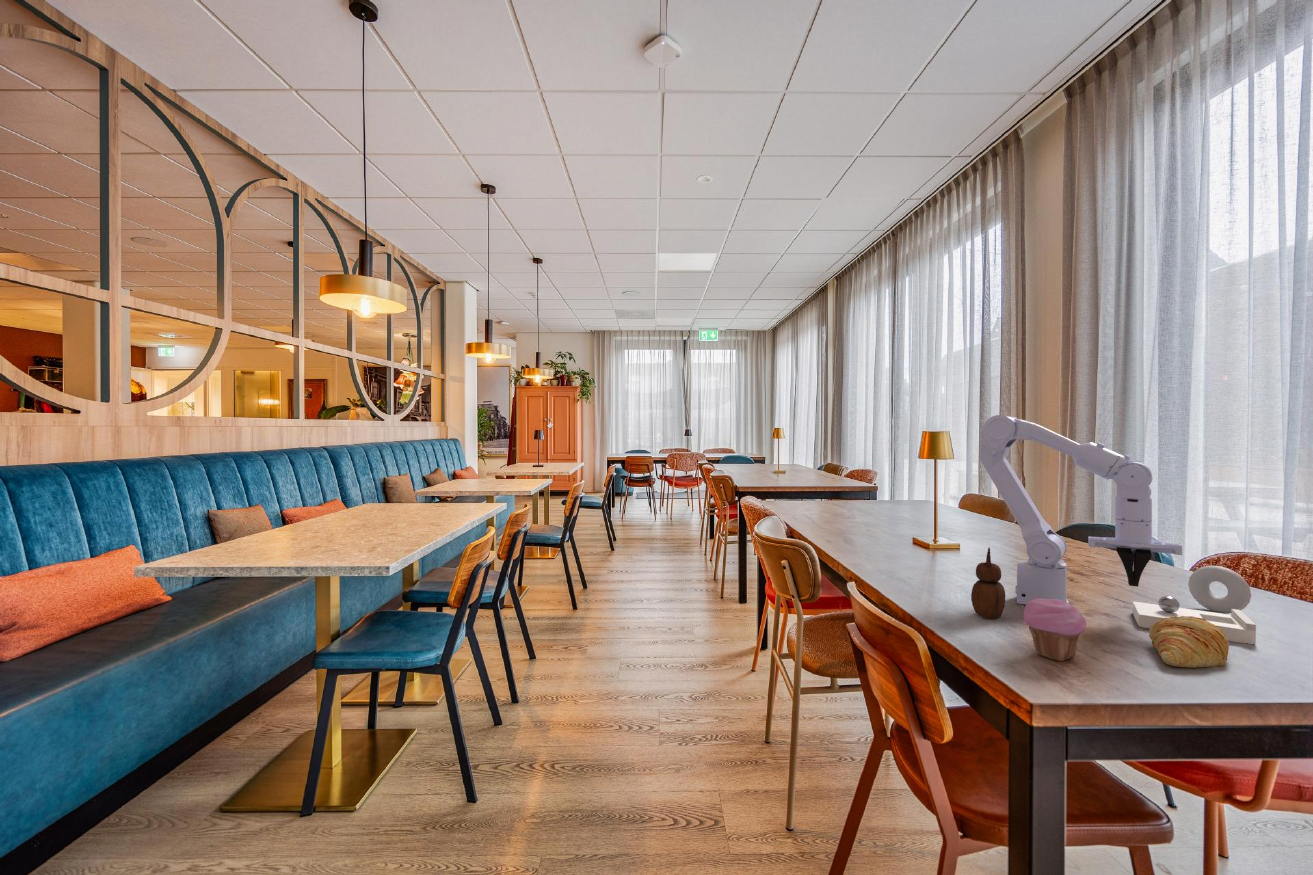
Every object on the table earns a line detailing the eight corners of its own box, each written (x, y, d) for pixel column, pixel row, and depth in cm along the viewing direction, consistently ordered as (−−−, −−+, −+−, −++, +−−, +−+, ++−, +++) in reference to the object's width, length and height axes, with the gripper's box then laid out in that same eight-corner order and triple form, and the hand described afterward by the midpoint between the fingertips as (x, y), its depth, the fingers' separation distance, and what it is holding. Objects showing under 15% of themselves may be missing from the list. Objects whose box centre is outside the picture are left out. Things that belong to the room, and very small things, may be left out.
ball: (1159, 612, 109) (1159, 596, 109) (1156, 608, 112) (1156, 593, 112) (1181, 615, 107) (1181, 599, 107) (1178, 611, 110) (1178, 595, 110)
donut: (1254, 618, 113) (1255, 570, 113) (1245, 620, 112) (1245, 572, 111) (1193, 604, 122) (1193, 560, 122) (1184, 606, 121) (1184, 561, 121)
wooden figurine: (998, 623, 111) (998, 550, 110) (967, 616, 115) (967, 545, 115) (1009, 616, 115) (1009, 545, 115) (979, 609, 119) (979, 541, 119)
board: (1139, 626, 109) (1139, 608, 109) (1132, 612, 117) (1132, 595, 117) (1255, 644, 99) (1255, 624, 99) (1239, 628, 107) (1240, 609, 107)
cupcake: (1068, 671, 89) (1069, 610, 89) (1012, 652, 97) (1013, 596, 96) (1095, 659, 93) (1095, 601, 93) (1039, 642, 101) (1040, 589, 101)
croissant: (1193, 698, 87) (1227, 662, 84) (1123, 650, 94) (1151, 616, 91) (1224, 662, 99) (1255, 630, 96) (1159, 623, 106) (1186, 591, 103)
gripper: (1089, 519, 114) (1089, 584, 114) (1185, 525, 105) (1185, 595, 105) (1087, 514, 119) (1087, 576, 120) (1178, 520, 111) (1178, 587, 111)
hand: (1133, 585), depth 113 cm, fingers closed
